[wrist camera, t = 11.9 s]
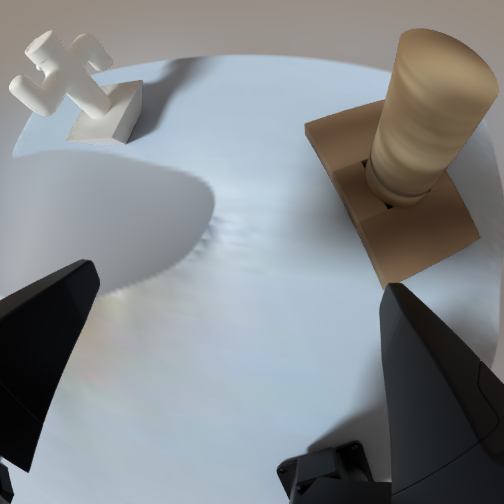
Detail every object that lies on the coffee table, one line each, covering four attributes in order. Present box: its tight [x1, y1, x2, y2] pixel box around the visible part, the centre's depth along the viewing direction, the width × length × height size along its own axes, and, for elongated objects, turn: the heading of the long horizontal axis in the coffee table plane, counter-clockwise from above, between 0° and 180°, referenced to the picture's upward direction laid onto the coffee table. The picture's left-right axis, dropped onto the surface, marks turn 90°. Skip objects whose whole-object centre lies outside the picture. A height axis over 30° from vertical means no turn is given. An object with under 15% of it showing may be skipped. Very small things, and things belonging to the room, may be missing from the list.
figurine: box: [9, 30, 143, 145], centre depth 20 cm, size 7×9×15 cm
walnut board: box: [305, 100, 481, 290], centre depth 20 cm, size 14×9×2 cm, turn 20°
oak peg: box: [365, 29, 499, 208], centre depth 14 cm, size 5×5×13 cm
